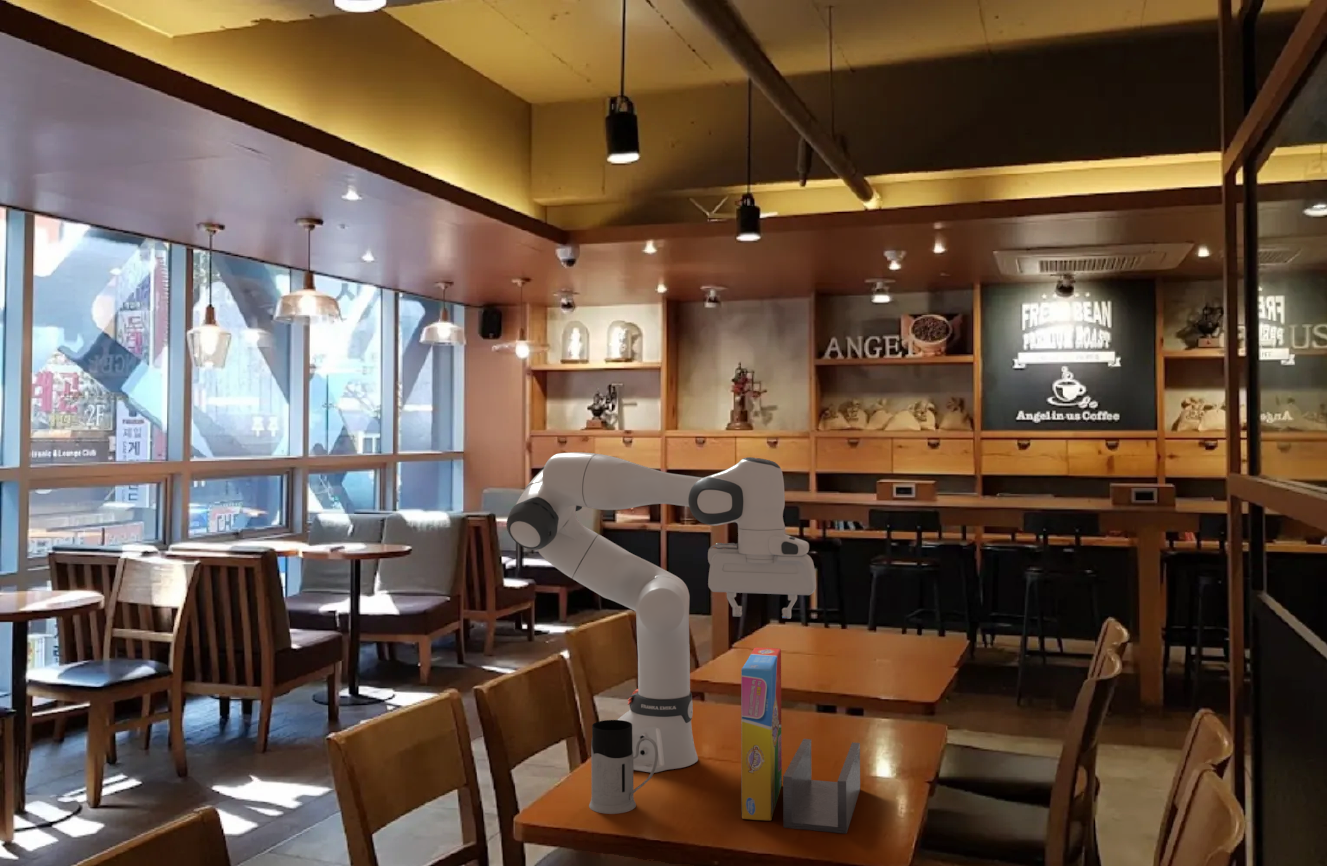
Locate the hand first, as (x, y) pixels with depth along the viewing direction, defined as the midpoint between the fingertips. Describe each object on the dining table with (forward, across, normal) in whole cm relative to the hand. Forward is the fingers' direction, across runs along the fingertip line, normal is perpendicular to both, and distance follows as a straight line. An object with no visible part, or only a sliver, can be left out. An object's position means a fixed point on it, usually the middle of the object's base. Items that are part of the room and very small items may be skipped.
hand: (761, 617), depth 199 cm
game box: (+35, 0, 0) cm, 35 cm away
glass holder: (+35, -24, -10) cm, 44 cm away
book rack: (+35, +12, 0) cm, 37 cm away
